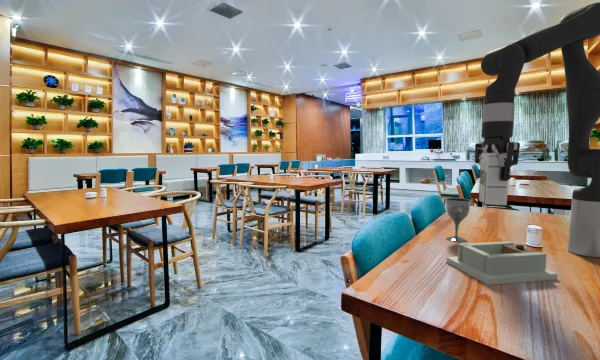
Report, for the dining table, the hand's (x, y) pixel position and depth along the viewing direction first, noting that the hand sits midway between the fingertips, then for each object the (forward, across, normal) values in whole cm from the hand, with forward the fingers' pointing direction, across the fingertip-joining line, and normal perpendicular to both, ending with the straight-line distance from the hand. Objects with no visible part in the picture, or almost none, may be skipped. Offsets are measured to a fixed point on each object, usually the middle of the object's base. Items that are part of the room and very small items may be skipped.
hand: (493, 179), depth 90 cm
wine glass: (+24, +23, -6) cm, 34 cm away
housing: (+24, -6, +2) cm, 25 cm away
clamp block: (+23, -6, -5) cm, 24 cm away
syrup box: (+7, 0, 0) cm, 7 cm away
